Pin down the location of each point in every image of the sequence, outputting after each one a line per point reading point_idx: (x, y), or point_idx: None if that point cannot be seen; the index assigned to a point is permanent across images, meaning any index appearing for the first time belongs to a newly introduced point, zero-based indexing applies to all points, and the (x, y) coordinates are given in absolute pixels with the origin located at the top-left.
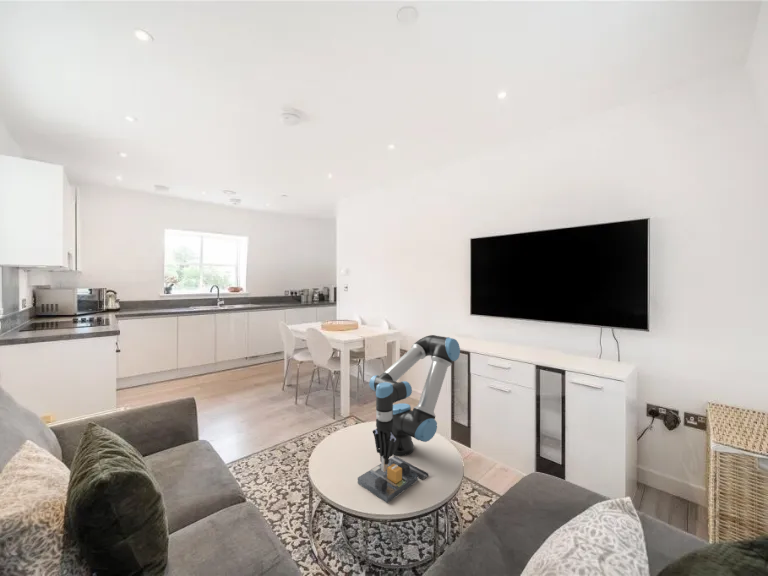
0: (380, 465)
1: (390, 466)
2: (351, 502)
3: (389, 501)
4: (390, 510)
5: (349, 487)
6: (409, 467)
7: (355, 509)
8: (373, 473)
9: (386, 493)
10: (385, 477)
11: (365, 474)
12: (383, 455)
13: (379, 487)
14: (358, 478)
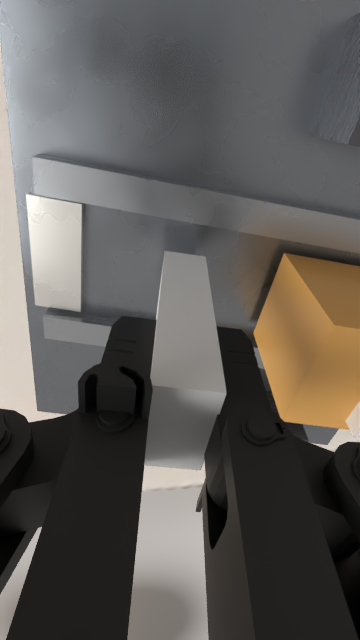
0: (57, 198)
1: (312, 391)
2: (144, 470)
3: None
4: (346, 432)
5: (46, 417)
6: None
7: (189, 484)
8: (103, 344)
9: (310, 429)
10: (220, 310)
11: (49, 362)
12: (153, 435)
13: None
14: (48, 409)
